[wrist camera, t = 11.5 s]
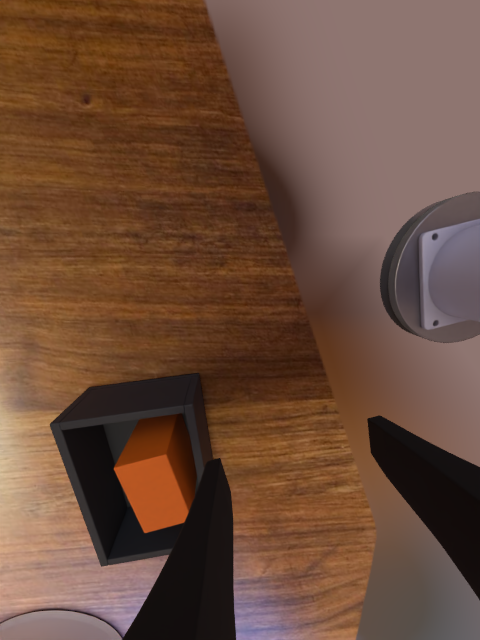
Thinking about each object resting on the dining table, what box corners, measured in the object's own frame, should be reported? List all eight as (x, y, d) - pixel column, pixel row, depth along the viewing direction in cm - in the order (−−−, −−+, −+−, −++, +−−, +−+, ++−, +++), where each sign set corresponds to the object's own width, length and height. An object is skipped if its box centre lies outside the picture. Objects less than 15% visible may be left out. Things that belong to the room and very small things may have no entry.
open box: (199, 372, 19) (192, 404, 15) (218, 491, 22) (217, 546, 18) (88, 387, 19) (48, 424, 14) (124, 507, 22) (100, 567, 18)
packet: (179, 406, 19) (165, 454, 14) (198, 461, 21) (192, 521, 16) (139, 417, 19) (112, 468, 14) (162, 471, 21) (144, 534, 16)
